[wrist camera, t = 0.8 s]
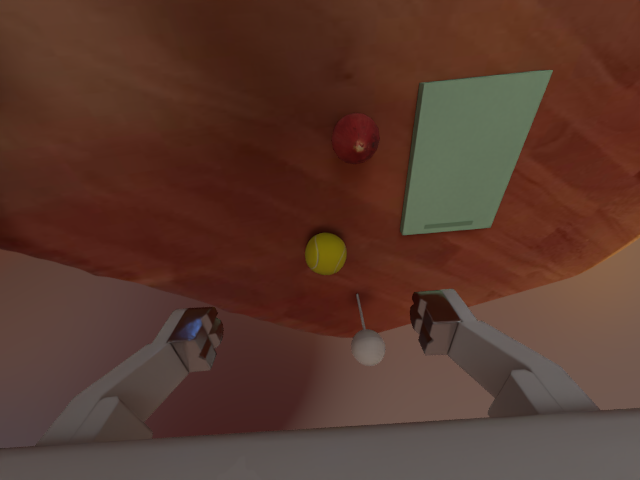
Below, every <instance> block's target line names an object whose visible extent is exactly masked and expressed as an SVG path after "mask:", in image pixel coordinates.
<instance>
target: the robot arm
mask: <svg viewBox="0 0 640 480" xmlns="http://www.w3.org/2000/svg"><path fill="white" fill-rule="evenodd" d="M412 300H413V302H414V304H413V305H412V306H411V307H410V320H411V323H412V326H413V329H414V330H415V331H416V332H417V333H419V334H420V336H419V342H420V344H421V347H422V349H423V351H424V353H425V355H448V356H449V357H450V358H451V359H452V360H453V361H454V362H455V363H457V364H458V365H459V366H460V367H461V368H462V369H463V370H465V371H466V372H467V373H468V374H469V375H470V376H471V377H472V378H473V379H474V380H475V381H477V382H478V383H479V384H480V385H481V386H482V387H483V388H484V389H485V390H487V391H488V392H489V393H490V394H491V395H492V396H493V397H494V398H495V400H494V401H493V403H492V405H491V407H490V408H489V410H488V415H489V416H490V417H489V418H474V419H457V420H441V421H425V422H410V423H395V424H394V423H393V424H377V425H361V426H346V427H330V428H313V429H298V430H283V431H265V432H250V433H235V434H219V435H203V436H187V437H172V438H157V439H151V438H152V435H153V433H152V430H151V429H150V428H149V427H148V426H147V425H146V424H145V423H144V422H145V421H146V419H147V418H148V417H149V416H150V415H151V414H152V413H153V412H154V411H155V410H156V409H157V407H158V406H159V405H160V404H161V403H162V402H163V401H164V400H165V399H166V398H167V397H168V396H169V394H170V393H171V392H172V391H173V390H174V389H175V388H176V387H177V386H178V385H179V384H180V382H181V381H182V380H183V379H184V378H185V377H186V376H187V375H188V374H189V373H188V372H195V371H206V370H211V367H212V365H213V362H214V359H215V357H216V351H215V348H216V347H218V345H220V343H221V341H222V338H223V331H224V330H223V324H222V322H221V320H219V319H218V318H216V316H217V314H218V312H217V310H216V308H215V307H202V308H185V309H176V310H175V311H173V312H172V314H171V316H170V317H169V318H168V320H167V321H166V323H165V324H164V326H163V327H162V329H161V330H160V332H159V334H158V335H157V336H156V338H155V339H154V341H153V342H152V344H147V345H146V346H145V347H143V348H142V349H140V350H139V351H138V352H136V353H135V354H133V355H132V356H131V357H129V358H128V359H127V360H125V361H124V362H122V363H121V364H120V365H119V366H117V367H116V368H114V369H113V370H111V371H110V372H109V373H107V374H106V375H105V376H103V377H102V378H100V379H99V380H98V381H96V382H95V383H93V384H92V385H91V386H89V387H88V388H87V389H85V390H84V391H82V392H81V393H80V394H78V395H77V396H75V397H74V398H73V399H72V401H71V402H70V403H69V404H68V405H67V407H66V408H65V409H64V410H63V412H62V413H61V414H60V415H59V417H58V418H57V419H56V420H55V422H54V423H53V424H52V425H51V427H50V428H49V429H48V430H47V432H46V433H45V434H44V435H43V436H42V438H41V439H40V440H39V441H38V443H37V444H36V445H35V446H30V447H14V448H0V480H640V408H631V409H614V410H600V409H599V408H598V407H597V406H596V405H595V403H594V402H593V401H592V400H591V399H590V398H589V397H588V396H587V395H586V394H585V393H584V392H583V390H582V389H581V388H580V387H579V386H578V385H577V384H576V383H575V382H574V381H573V380H572V378H571V377H570V376H569V375H568V374H567V373H566V372H565V371H564V370H563V369H562V368H561V367H560V366H559V365H557V364H556V363H554V362H552V361H550V360H549V359H547V358H545V357H544V356H542V355H540V354H538V353H537V352H535V351H533V350H532V349H530V348H528V347H526V346H525V345H523V344H521V343H519V342H518V341H516V340H514V339H513V338H511V337H509V336H507V335H506V334H504V333H502V332H500V331H499V330H497V329H495V328H493V327H492V326H490V325H488V324H487V323H485V322H483V321H478V320H477V319H476V318H475V316H474V315H473V314H472V312H471V311H470V310H469V308H468V307H467V306H466V304H465V303H464V302H463V300H462V299H461V298H460V296H459V295H458V294H457V292H456V291H455V290H453V289H445V290H433V291H421V292H414V293H413V296H412Z"/></svg>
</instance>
